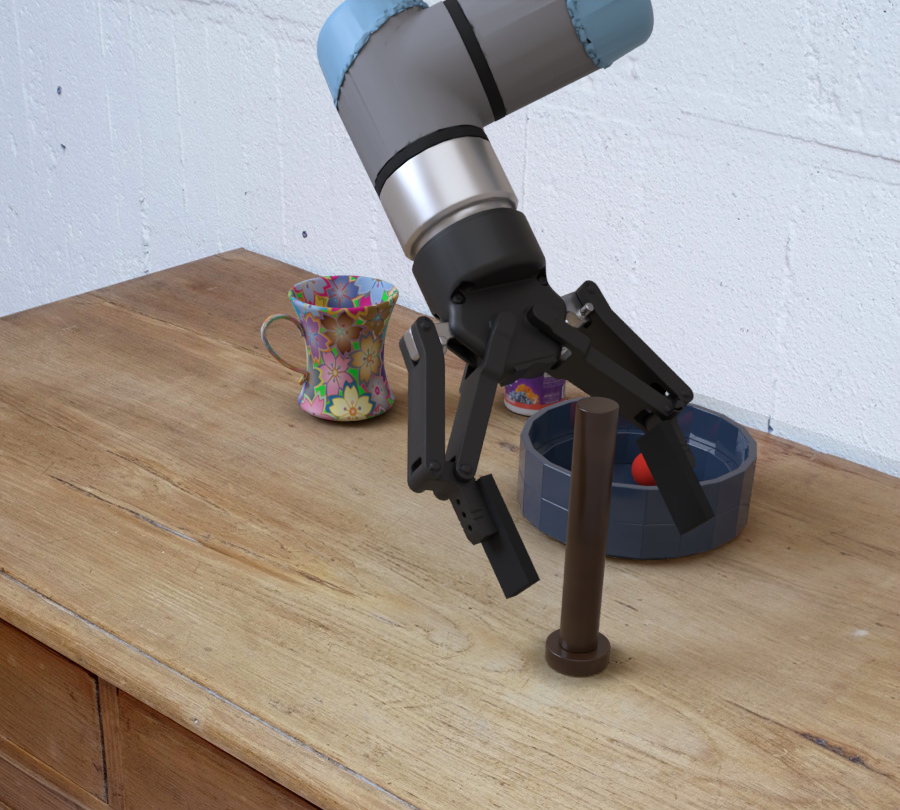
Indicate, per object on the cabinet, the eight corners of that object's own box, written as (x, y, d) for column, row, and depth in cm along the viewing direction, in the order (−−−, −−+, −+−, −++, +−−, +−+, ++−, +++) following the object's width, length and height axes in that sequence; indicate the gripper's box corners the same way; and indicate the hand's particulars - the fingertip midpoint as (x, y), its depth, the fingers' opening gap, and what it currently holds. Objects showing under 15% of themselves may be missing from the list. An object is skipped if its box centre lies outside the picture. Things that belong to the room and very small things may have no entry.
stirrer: (601, 640, 84) (624, 390, 75) (615, 675, 80) (641, 417, 72) (540, 643, 83) (555, 391, 75) (550, 678, 80) (569, 419, 71)
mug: (376, 384, 121) (375, 270, 116) (415, 420, 114) (415, 301, 109) (250, 402, 117) (243, 285, 112) (282, 441, 110) (276, 318, 104)
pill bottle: (491, 405, 117) (495, 298, 112) (533, 390, 121) (538, 286, 116) (534, 423, 114) (540, 314, 109) (576, 407, 117) (584, 301, 112)
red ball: (677, 458, 102) (658, 437, 100) (678, 488, 101) (658, 467, 99) (643, 471, 104) (624, 450, 102) (644, 501, 102) (624, 481, 100)
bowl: (709, 460, 108) (718, 391, 105) (776, 561, 93) (789, 485, 90) (502, 466, 106) (505, 396, 103) (538, 570, 92) (542, 492, 88)
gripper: (589, 240, 88) (725, 523, 86) (262, 304, 75) (411, 640, 73) (651, 175, 82) (801, 478, 79) (307, 233, 69) (471, 598, 66)
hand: (614, 557), depth 76 cm, fingers open, 13 cm apart
